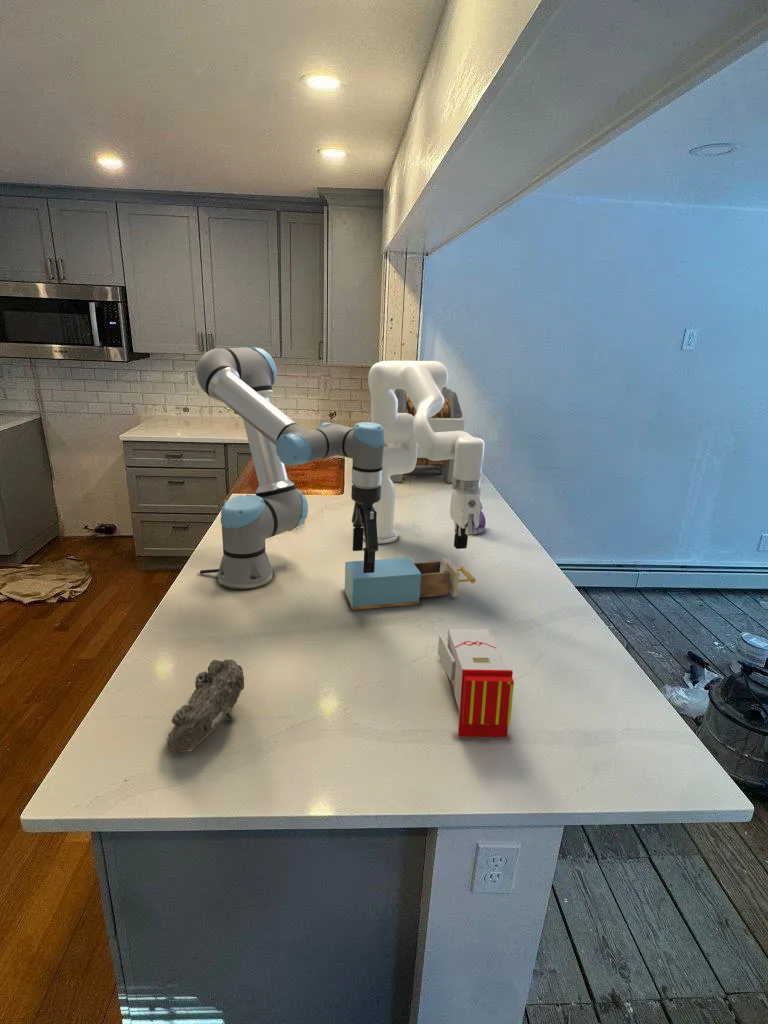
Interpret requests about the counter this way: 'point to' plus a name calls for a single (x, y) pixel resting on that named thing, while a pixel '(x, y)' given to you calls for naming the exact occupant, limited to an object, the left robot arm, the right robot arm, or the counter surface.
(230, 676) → the fossil
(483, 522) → the figurine
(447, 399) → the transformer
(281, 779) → the counter surface
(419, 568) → the drawer
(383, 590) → the cabinet
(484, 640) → the toy
